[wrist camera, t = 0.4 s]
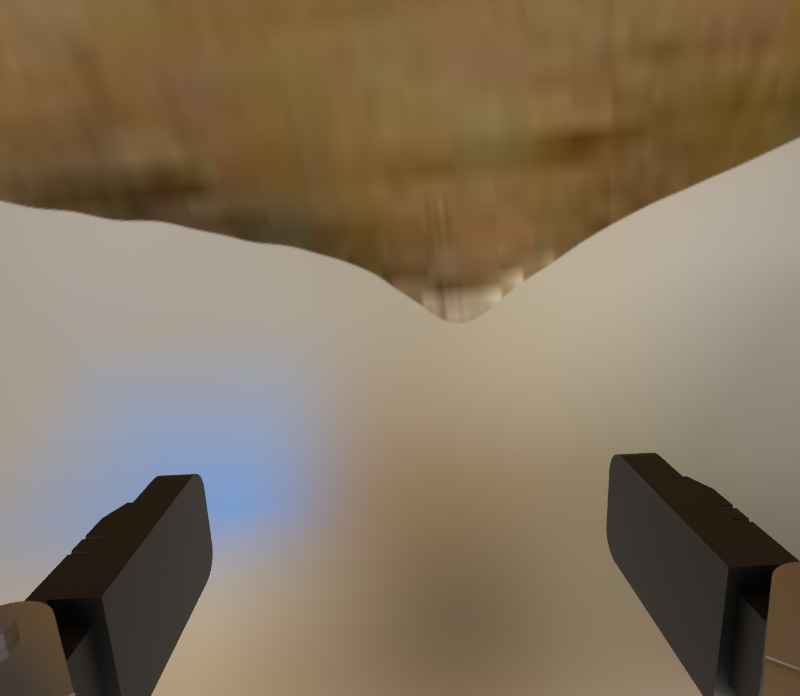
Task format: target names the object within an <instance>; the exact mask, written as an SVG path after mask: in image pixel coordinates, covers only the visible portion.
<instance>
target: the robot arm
mask: <svg viewBox="0 0 800 696" xmlns="http://www.w3.org/2000/svg"><path fill="white" fill-rule="evenodd" d="M607 539H608V544H609V548H610V552H611V554H612V557H613V559H614V561H615V563H616V564H617V566H618V567H619V569H620V570H621V571H622V573H623V575H624V576H625V578H626V579H627V581H628V582H629V584H630V585H631V587H632V588H633V590H634V591H635V593H636V595H637V596H638V598H639V599H640V600H641V602H642V603H643V605H644V607H645V608H646V610H647V611H648V613H649V614H650V616H651V617H652V619H653V620H654V622H655V623H656V625H657V626H658V628H659V629H660V631H661V632H662V634H663V635H664V637H665V639H666V640H667V642H668V643H669V645H670V646H671V648H672V649H673V651H674V652H675V654H676V655H677V657H678V658H679V660H680V661H681V663H682V664H683V666H684V667H685V669H686V670H687V672H688V674H689V675H690V677H691V678H692V680H693V681H694V683H695V684H696V686H697V687H698V689H699V690H700V692H701V693H702V695H703V696H800V561H799V560H797V559H796V558H795V557H794V556H792V555H791V554H790V553H789V552H788V551H786V549H784V548H783V547H782V546H781V545H780V544H778V543H777V542H776V541H775V540H774V539H772V538H771V537H770V536H769V535H768V534H766V533H765V532H764V531H763V530H762V529H761V528H759V527H758V526H757V525H756V524H754V523H753V522H749V518H747V517H746V516H745V515H744V514H743V513H741V512H740V511H739V510H738V509H737V508H733V505H732V504H731V503H729V502H728V501H727V500H726V499H725V498H724V497H722V496H721V495H720V494H719V493H718V492H716V491H715V490H714V489H712V488H710V487H708V486H706V485H704V484H702V483H700V482H697V481H695V480H693V479H691V478H689V477H683V476H681V474H679V473H678V472H677V471H676V470H675V469H674V468H673V467H671V466H670V465H669V464H668V463H667V462H666V461H665V460H664V459H662V458H661V457H660V456H659V455H658V454H656V453H639V454H618V455H614V456H613V458H612V460H611V463H610V473H609V491H608V508H607ZM211 566H212V541H211V534H210V526H209V519H208V513H207V505H206V498H205V491H204V485H203V481H202V479H201V477H200V476H199V475H198V474H188V475H187V474H186V475H167V476H166V475H165V476H157V477H156V478H154V480H153V481H152V482H151V483H150V484H149V485H148V486H147V487H146V489H145V490H144V491H143V492H142V493H141V494H140V495H139V497H137V499H136V500H135V501H134V502H133V503H127V504H125V505H123V506H121V507H120V508H118V509H117V510H115V511H113V512H112V513H110V514H109V515H107V516H105V517H104V518H102V519H101V520H100V521H99V522H98V523H97V524H96V525H95V527H94V528H93V529H92V530H91V531H90V532H89V533H88V534H87V535H86V539H84V540H81V541H80V543H79V544H78V545H77V546H76V547H75V548H74V549H73V550H72V553H71V555H67V556H66V557H65V558H64V559H63V561H62V562H61V563H60V564H59V565H58V566H57V567H56V568H55V569H54V570H53V571H52V572H51V573H50V574H49V575H48V577H47V578H46V579H45V580H44V581H43V582H42V583H41V584H40V585H39V586H38V587H37V588H36V589H35V590H34V592H32V593H31V595H30V596H29V597H28V598H27V599H26V600H25V601H23V602H15V603H9V604H5V605H2V606H0V696H151V694H152V692H153V690H154V688H155V686H156V684H157V682H158V680H159V678H160V676H161V674H162V672H163V670H164V668H165V666H166V664H167V662H168V660H169V658H170V656H171V654H172V652H173V650H174V648H175V646H176V644H177V642H178V640H179V638H180V636H181V634H182V631H183V630H184V628H185V626H186V623H187V621H188V619H189V617H190V615H191V613H192V611H193V609H194V607H195V605H196V603H197V601H198V599H199V597H200V595H201V593H202V591H203V589H204V587H205V585H206V583H207V580H208V578H209V575H210V571H211Z"/></svg>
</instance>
